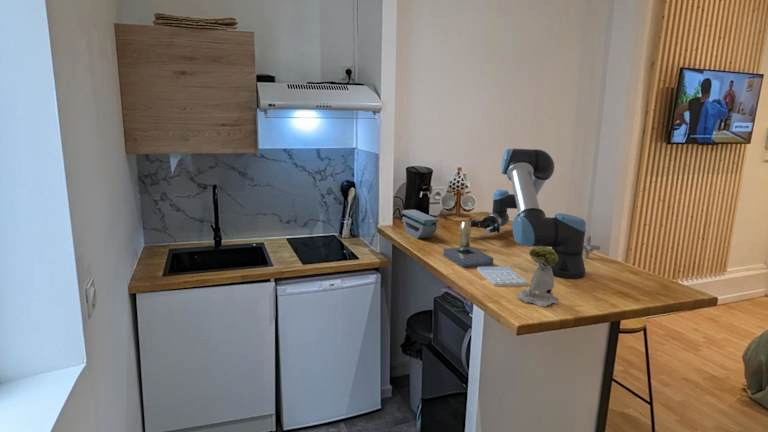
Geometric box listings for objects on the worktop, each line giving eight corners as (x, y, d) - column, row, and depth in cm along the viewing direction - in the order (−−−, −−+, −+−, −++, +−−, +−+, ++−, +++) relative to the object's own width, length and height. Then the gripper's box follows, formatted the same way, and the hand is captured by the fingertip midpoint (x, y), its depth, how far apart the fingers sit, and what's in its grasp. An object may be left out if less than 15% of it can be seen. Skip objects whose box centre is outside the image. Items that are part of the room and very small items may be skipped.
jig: (493, 265, 200) (493, 258, 200) (462, 267, 196) (463, 260, 195) (471, 253, 217) (472, 246, 216) (443, 255, 212) (443, 248, 212)
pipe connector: (594, 255, 219) (596, 234, 217) (601, 261, 209) (604, 239, 207) (571, 254, 220) (574, 232, 218) (578, 260, 210) (580, 238, 208)
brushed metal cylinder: (471, 247, 225) (473, 222, 223) (462, 248, 224) (464, 223, 221) (466, 245, 229) (468, 220, 227) (458, 246, 228) (460, 221, 226)
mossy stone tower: (522, 290, 172) (527, 240, 168) (560, 298, 166) (566, 246, 162) (514, 301, 162) (519, 248, 158) (554, 309, 155) (560, 254, 152)
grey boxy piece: (401, 230, 256) (401, 210, 254) (414, 229, 259) (415, 209, 257) (423, 242, 233) (424, 220, 231) (437, 240, 236) (438, 219, 234)
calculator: (493, 287, 175) (494, 282, 175) (476, 270, 195) (476, 265, 194) (528, 287, 177) (528, 282, 177) (507, 269, 196) (507, 265, 196)
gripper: (514, 233, 243) (497, 241, 226) (469, 225, 257) (449, 232, 240) (515, 218, 241) (498, 226, 224) (469, 212, 255) (450, 218, 238)
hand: (473, 229), depth 232 cm, fingers open, 13 cm apart
